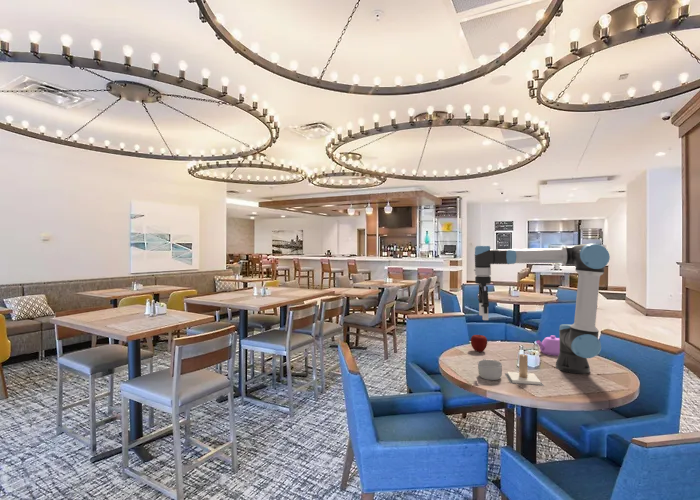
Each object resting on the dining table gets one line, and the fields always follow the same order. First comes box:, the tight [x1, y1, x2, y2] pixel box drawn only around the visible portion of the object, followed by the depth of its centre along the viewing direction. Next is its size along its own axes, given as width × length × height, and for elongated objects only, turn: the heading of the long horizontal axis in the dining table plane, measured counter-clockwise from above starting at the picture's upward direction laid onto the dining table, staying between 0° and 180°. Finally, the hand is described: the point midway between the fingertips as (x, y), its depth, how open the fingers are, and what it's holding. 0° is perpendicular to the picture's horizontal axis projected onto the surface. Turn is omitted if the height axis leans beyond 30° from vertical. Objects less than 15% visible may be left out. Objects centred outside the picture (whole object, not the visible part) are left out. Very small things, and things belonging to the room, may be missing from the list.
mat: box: [504, 372, 545, 387], centre depth 173 cm, size 14×14×1 cm
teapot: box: [535, 335, 560, 357], centre depth 222 cm, size 14×20×11 cm
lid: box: [506, 353, 542, 386], centre depth 173 cm, size 12×12×11 cm
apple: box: [470, 334, 488, 353], centre depth 226 cm, size 10×10×10 cm
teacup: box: [477, 358, 503, 381], centre depth 178 cm, size 14×11×8 cm
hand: (483, 317), depth 189 cm, fingers open, 13 cm apart
